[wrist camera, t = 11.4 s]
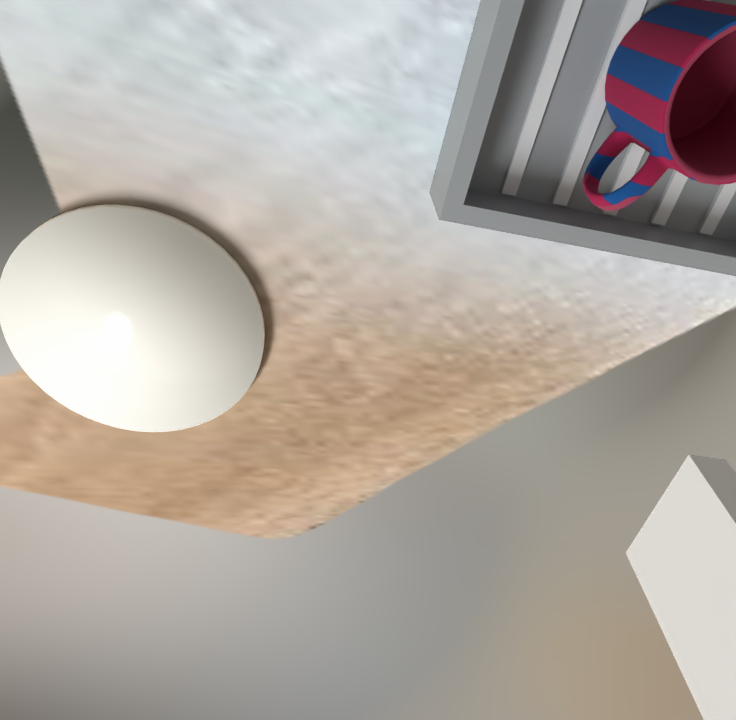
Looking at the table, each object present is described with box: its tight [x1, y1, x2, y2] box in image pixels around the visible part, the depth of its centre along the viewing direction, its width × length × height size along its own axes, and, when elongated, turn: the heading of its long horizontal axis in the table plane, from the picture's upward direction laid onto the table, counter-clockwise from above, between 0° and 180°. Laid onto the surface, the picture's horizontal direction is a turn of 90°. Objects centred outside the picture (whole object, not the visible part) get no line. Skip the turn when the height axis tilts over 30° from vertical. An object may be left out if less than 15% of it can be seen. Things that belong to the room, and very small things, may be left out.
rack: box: [430, 0, 736, 276], centre depth 32 cm, size 15×20×4 cm
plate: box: [0, 204, 265, 432], centre depth 40 cm, size 16×16×1 cm
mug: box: [582, 0, 736, 211], centre depth 29 cm, size 7×10×7 cm
